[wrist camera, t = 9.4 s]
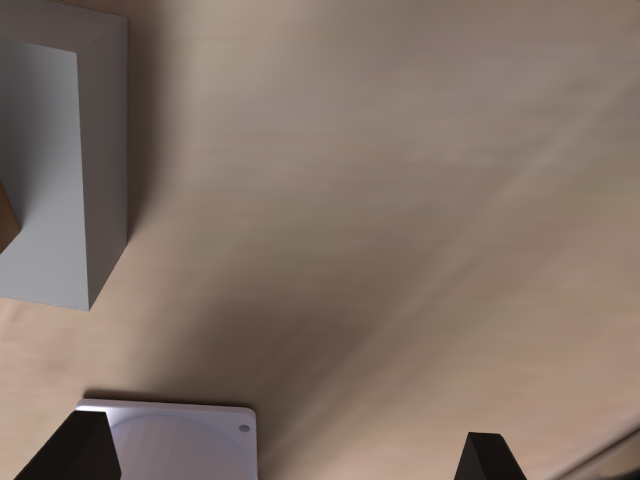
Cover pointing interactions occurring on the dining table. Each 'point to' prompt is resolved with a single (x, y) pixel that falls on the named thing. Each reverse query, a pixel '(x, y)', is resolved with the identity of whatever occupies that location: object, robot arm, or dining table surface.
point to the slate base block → (63, 149)
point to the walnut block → (7, 221)
